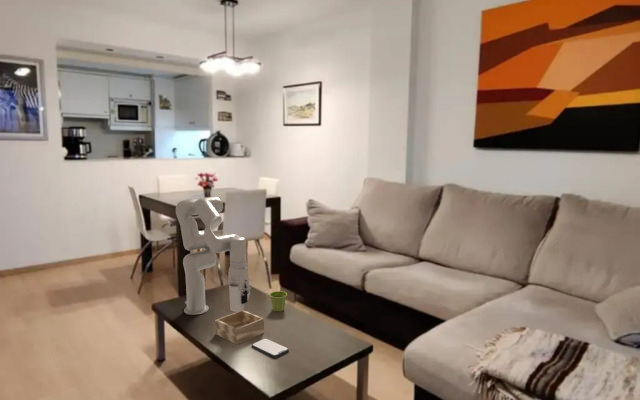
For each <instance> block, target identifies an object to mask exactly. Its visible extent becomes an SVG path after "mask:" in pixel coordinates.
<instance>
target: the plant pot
mask: <svg viewBox="0 0 640 400" xmlns="http://www.w3.org/2000/svg"><path fill="white" fill-rule="evenodd" d="M287 296H288V293H287V292H285V291H281V290H277V291H272V292H270V293H269V297H270V300H271V301H270V302H271V309H272V311H274V312H283V311H284V310H285V306H286V305H285V304H286V298H287Z"/></svg>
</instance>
